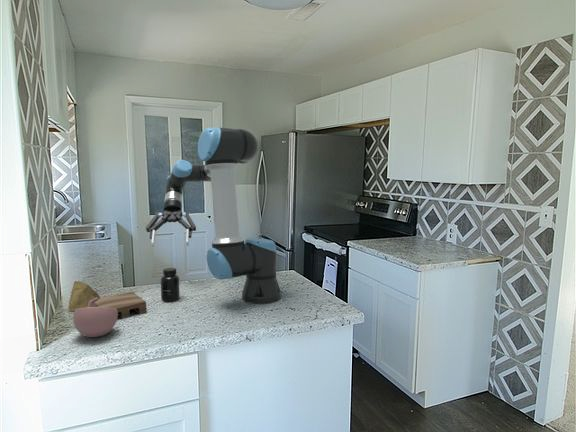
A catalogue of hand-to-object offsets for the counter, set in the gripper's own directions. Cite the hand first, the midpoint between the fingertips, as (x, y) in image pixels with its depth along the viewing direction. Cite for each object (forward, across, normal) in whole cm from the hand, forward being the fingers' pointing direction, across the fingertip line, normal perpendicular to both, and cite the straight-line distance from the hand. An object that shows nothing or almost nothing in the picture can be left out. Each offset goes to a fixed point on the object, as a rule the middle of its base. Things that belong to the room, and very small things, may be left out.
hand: (170, 244), depth 156 cm
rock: (+24, +28, -3) cm, 38 cm away
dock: (+29, +15, +2) cm, 33 cm away
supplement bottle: (+22, -1, -5) cm, 23 cm away
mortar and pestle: (+42, +17, +15) cm, 48 cm away
